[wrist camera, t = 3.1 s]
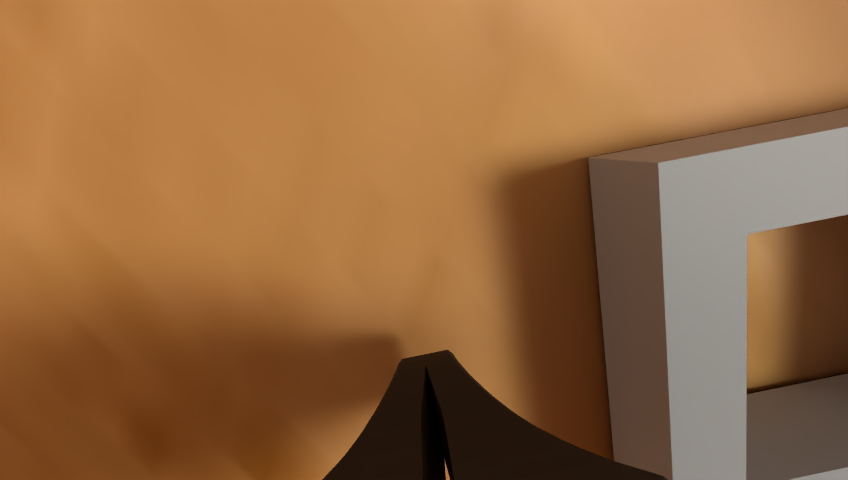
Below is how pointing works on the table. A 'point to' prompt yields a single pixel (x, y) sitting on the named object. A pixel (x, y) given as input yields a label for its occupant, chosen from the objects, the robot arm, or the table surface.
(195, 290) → the table surface
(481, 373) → the table surface
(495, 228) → the table surface
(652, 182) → the socket block
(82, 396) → the table surface
